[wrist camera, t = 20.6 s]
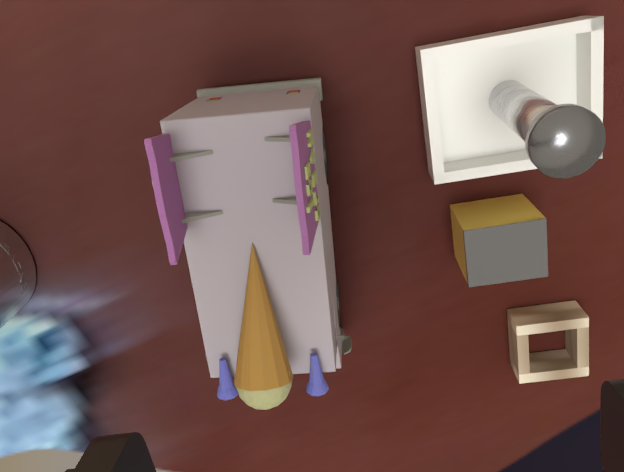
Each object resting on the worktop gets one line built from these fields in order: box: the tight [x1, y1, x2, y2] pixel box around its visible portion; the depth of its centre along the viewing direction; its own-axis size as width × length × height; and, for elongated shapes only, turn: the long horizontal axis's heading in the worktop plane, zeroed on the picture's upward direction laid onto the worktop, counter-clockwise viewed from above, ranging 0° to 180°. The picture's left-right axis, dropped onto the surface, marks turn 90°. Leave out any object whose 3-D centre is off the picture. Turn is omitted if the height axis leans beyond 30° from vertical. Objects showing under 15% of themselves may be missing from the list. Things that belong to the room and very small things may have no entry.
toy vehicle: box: [144, 77, 352, 410], centre depth 34 cm, size 9×20×15 cm, turn 6°
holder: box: [507, 300, 589, 384], centre depth 42 cm, size 5×5×2 cm
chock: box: [450, 194, 548, 287], centre depth 38 cm, size 5×4×5 cm
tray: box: [415, 15, 604, 185], centre depth 35 cm, size 10×8×3 cm
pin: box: [489, 80, 606, 178], centre depth 31 cm, size 3×3×11 cm
